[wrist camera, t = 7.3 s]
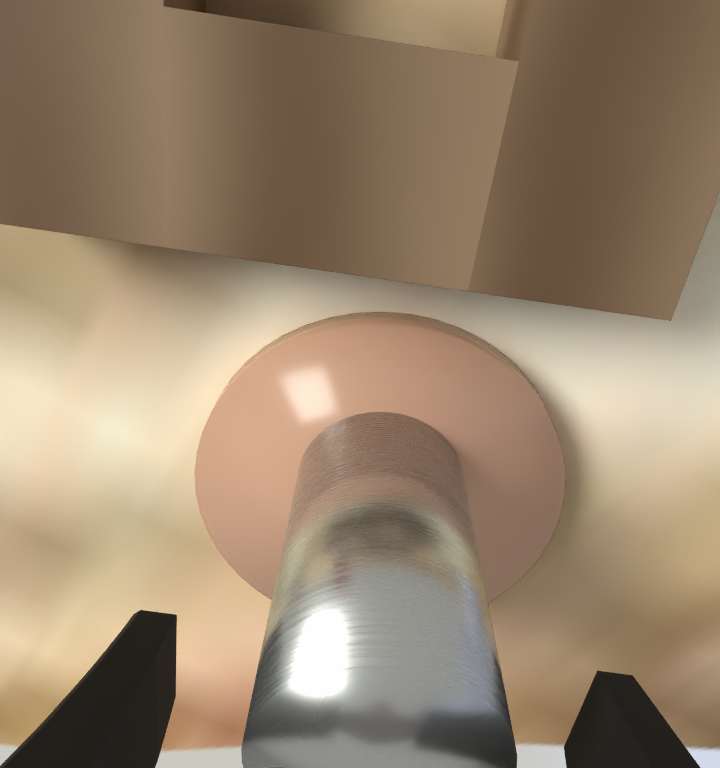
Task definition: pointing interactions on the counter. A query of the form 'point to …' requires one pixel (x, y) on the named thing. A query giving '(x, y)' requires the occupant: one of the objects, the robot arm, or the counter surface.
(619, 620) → the counter surface
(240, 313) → the counter surface
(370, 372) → the coaster
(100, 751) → the robot arm
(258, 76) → the pocket block
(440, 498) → the round metal peg
